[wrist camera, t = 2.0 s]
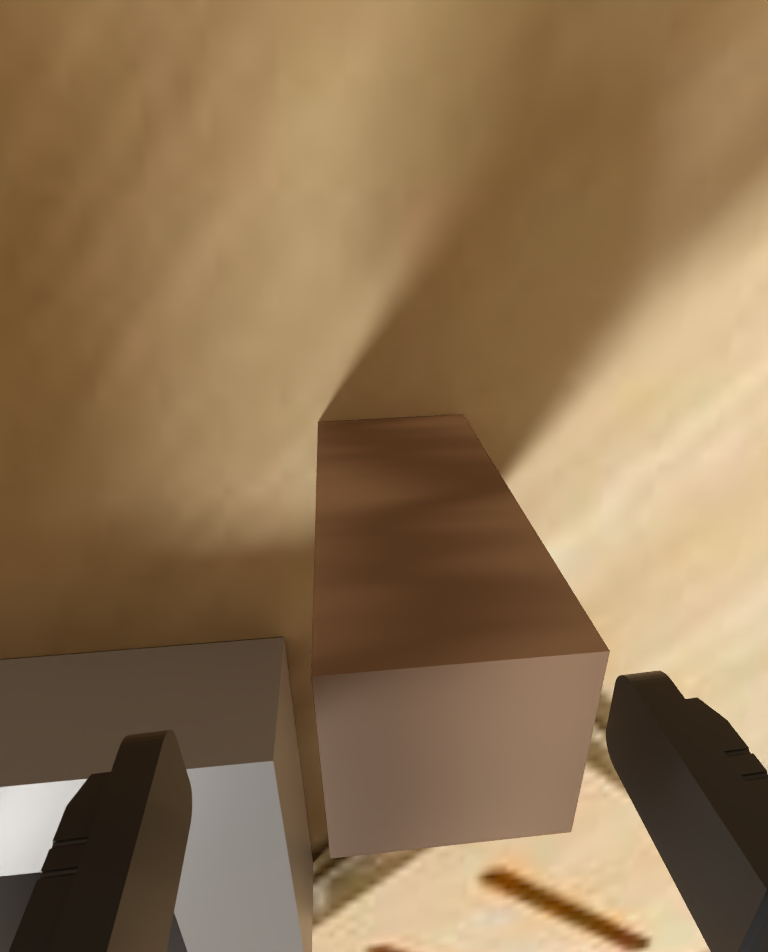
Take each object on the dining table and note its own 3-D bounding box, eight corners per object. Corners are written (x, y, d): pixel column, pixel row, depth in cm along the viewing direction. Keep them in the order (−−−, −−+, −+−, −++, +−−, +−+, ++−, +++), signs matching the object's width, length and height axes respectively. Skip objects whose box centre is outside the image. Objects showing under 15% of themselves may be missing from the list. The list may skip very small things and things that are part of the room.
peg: (463, 414, 17) (609, 651, 8) (457, 536, 19) (571, 831, 10) (318, 421, 17) (310, 676, 8) (327, 545, 19) (330, 858, 10)
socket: (284, 637, 20) (273, 760, 16) (313, 863, 27) (311, 997, 22) (-254, 680, 19) (-430, 828, 15) (-91, 908, 25) (-179, 1060, 21)
